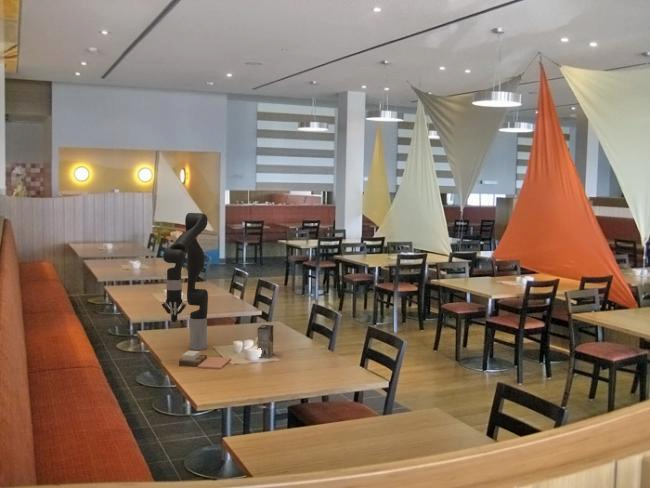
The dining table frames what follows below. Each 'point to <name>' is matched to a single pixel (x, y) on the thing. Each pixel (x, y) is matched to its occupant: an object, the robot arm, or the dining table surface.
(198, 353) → the cream tile
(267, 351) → the coffee box
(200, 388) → the dining table surface
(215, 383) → the dining table surface
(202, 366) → the terracotta mat
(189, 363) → the walnut deck
